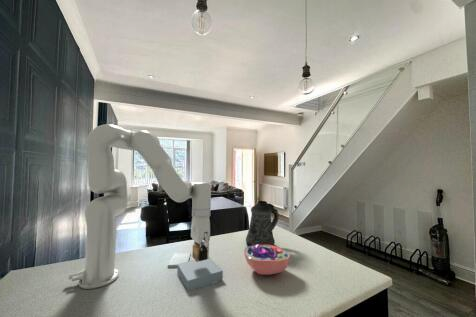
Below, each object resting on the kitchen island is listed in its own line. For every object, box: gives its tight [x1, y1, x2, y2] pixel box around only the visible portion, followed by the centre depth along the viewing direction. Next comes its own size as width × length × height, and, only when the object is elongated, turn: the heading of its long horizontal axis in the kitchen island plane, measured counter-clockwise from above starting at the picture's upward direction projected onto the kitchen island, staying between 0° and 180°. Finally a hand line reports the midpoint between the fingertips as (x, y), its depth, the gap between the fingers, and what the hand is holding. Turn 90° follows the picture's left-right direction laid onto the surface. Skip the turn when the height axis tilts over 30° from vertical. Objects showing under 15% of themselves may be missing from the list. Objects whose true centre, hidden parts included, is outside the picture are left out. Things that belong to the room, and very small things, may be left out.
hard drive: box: [167, 252, 192, 269], centre depth 91 cm, size 2×8×12 cm
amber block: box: [191, 243, 210, 262], centre depth 79 cm, size 5×5×5 cm
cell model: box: [243, 244, 291, 276], centre depth 83 cm, size 17×20×11 cm
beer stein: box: [245, 200, 280, 247], centre depth 113 cm, size 16×19×25 cm
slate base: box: [176, 257, 224, 292], centre depth 79 cm, size 14×14×4 cm
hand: (200, 256), depth 79 cm, fingers closed on amber block, 5 cm apart
